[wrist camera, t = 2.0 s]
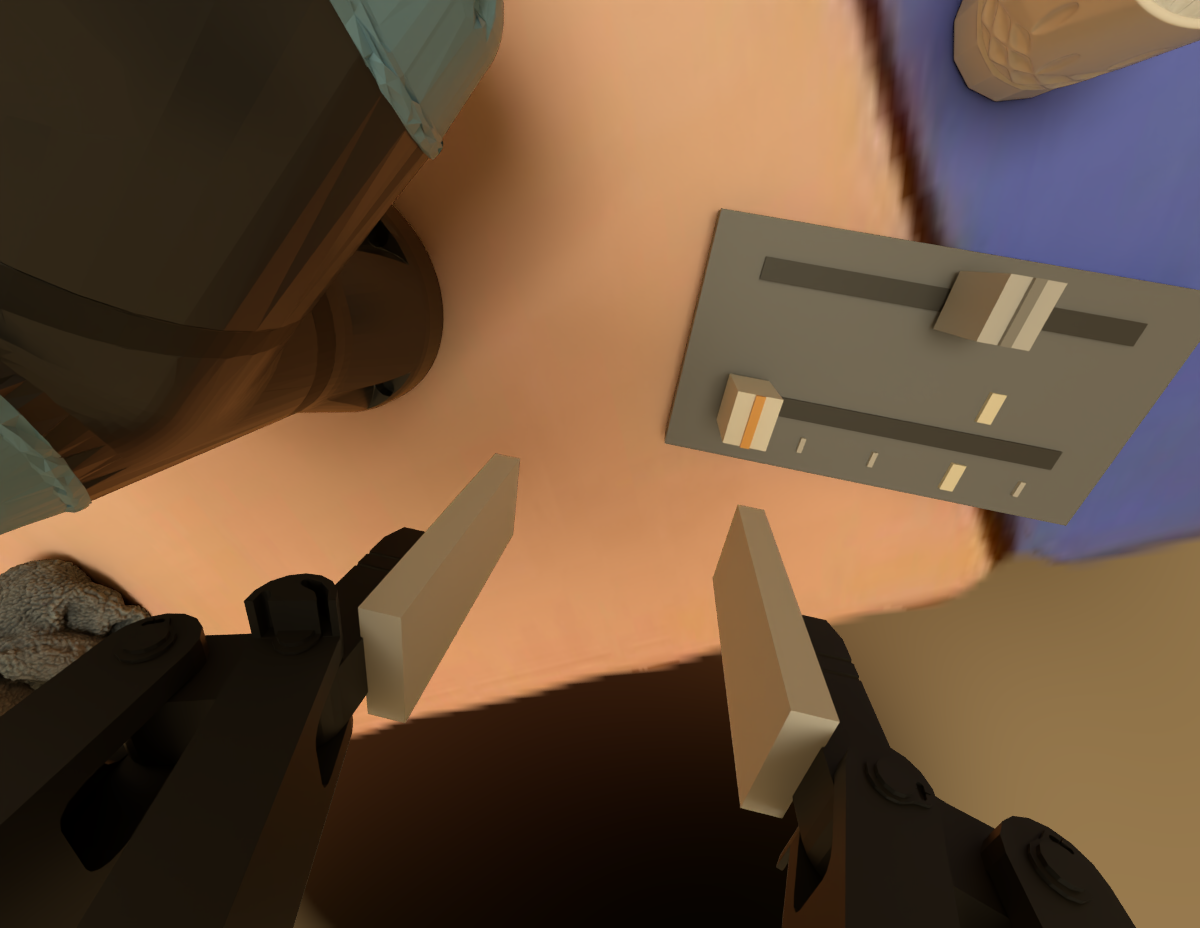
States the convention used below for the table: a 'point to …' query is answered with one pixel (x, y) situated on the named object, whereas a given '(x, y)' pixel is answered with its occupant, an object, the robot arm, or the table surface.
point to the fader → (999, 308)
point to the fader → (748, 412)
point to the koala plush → (51, 623)
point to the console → (923, 366)
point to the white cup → (1063, 40)
